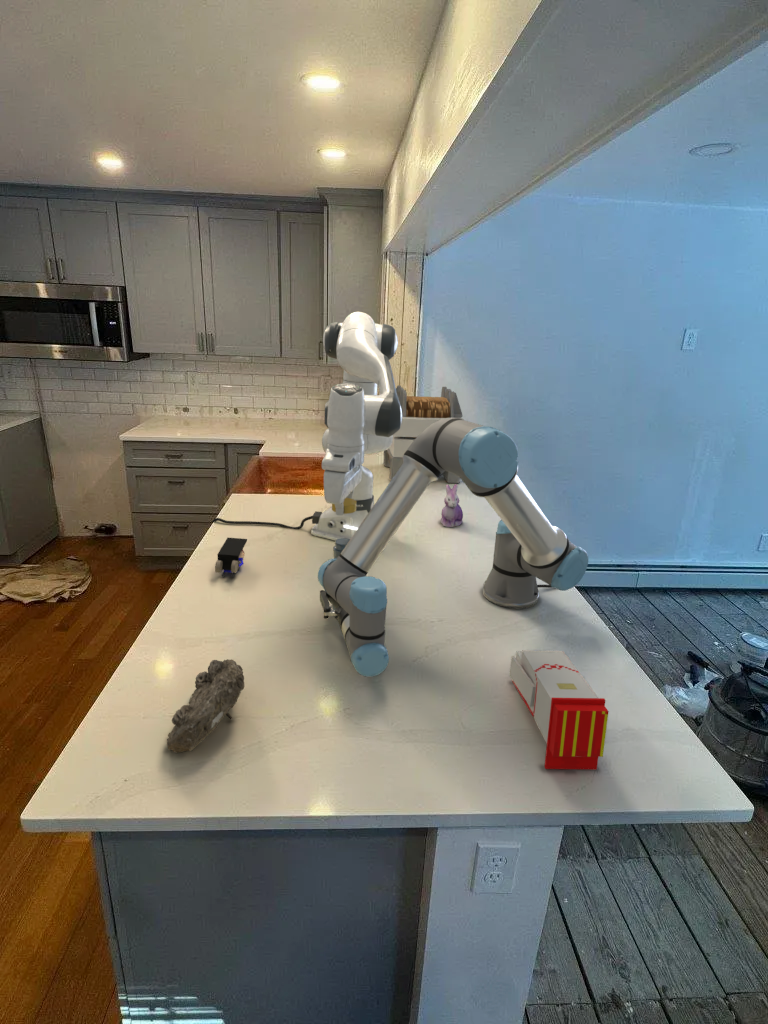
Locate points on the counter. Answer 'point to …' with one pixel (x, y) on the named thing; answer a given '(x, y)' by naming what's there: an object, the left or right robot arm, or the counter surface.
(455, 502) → the figurine
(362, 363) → the left robot arm
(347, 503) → the lid
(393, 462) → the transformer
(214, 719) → the fossil
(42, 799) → the counter surface
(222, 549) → the figurine character
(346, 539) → the jar
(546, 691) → the toy
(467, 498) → the counter surface
